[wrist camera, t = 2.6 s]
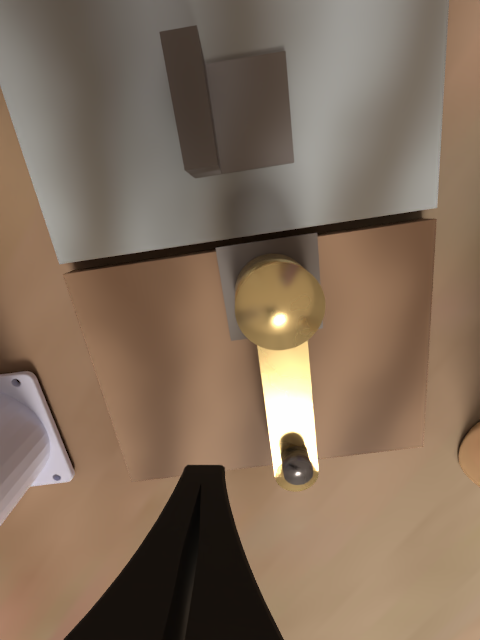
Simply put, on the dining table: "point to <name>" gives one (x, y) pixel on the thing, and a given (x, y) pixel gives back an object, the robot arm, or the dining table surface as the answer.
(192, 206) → the door and jamb
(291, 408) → the swing bar
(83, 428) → the dining table surface
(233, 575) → the robot arm
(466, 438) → the beer glass
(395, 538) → the dining table surface
